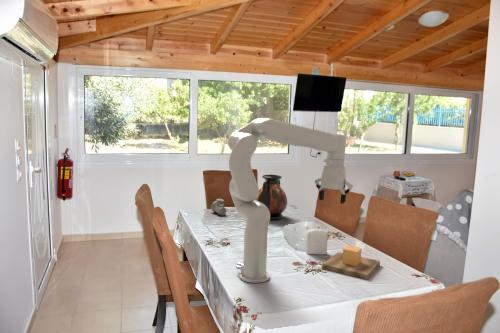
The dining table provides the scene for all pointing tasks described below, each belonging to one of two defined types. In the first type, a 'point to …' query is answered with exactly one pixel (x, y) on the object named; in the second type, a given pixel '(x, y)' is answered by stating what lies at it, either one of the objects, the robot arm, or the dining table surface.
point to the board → (351, 266)
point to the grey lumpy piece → (218, 207)
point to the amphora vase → (273, 196)
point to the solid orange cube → (352, 255)
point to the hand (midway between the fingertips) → (331, 201)
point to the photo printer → (316, 241)
